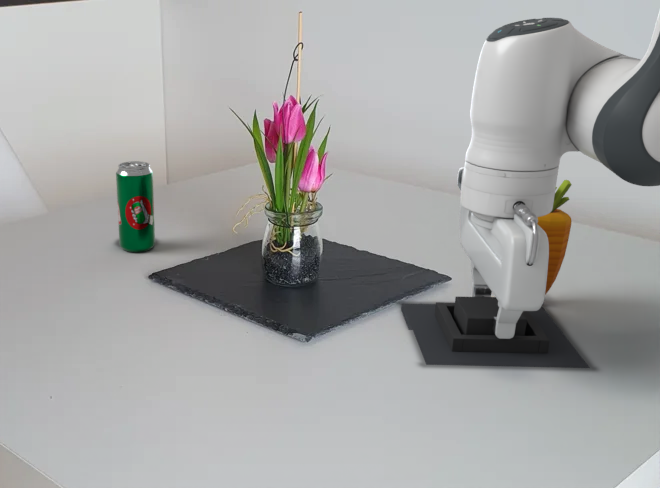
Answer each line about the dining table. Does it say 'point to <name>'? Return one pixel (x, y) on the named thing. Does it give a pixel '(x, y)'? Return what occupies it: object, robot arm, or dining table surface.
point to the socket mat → (489, 341)
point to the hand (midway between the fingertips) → (491, 317)
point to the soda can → (135, 206)
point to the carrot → (556, 233)
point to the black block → (480, 316)
